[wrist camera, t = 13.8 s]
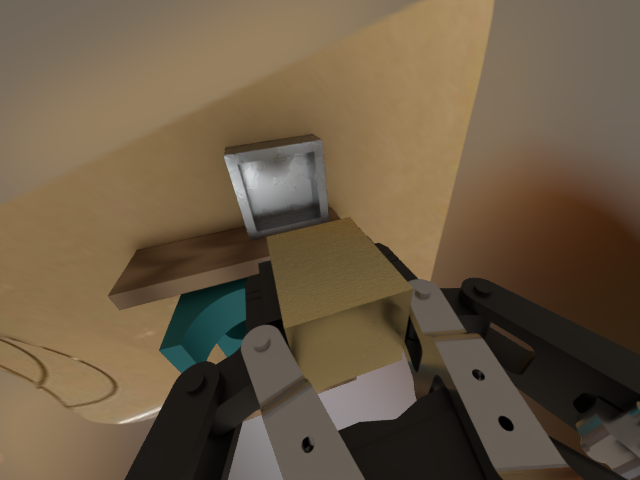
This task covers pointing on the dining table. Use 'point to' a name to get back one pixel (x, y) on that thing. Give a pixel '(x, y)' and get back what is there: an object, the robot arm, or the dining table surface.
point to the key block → (338, 301)
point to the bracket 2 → (193, 269)
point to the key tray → (279, 184)
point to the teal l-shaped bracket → (206, 324)
